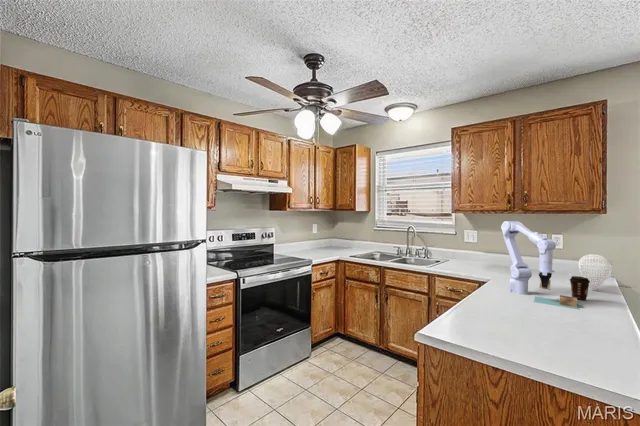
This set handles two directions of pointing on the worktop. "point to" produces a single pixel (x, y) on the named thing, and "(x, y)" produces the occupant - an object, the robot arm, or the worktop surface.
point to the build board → (552, 302)
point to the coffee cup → (579, 287)
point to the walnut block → (568, 301)
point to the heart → (603, 260)
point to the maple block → (547, 287)
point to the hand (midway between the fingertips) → (544, 286)
